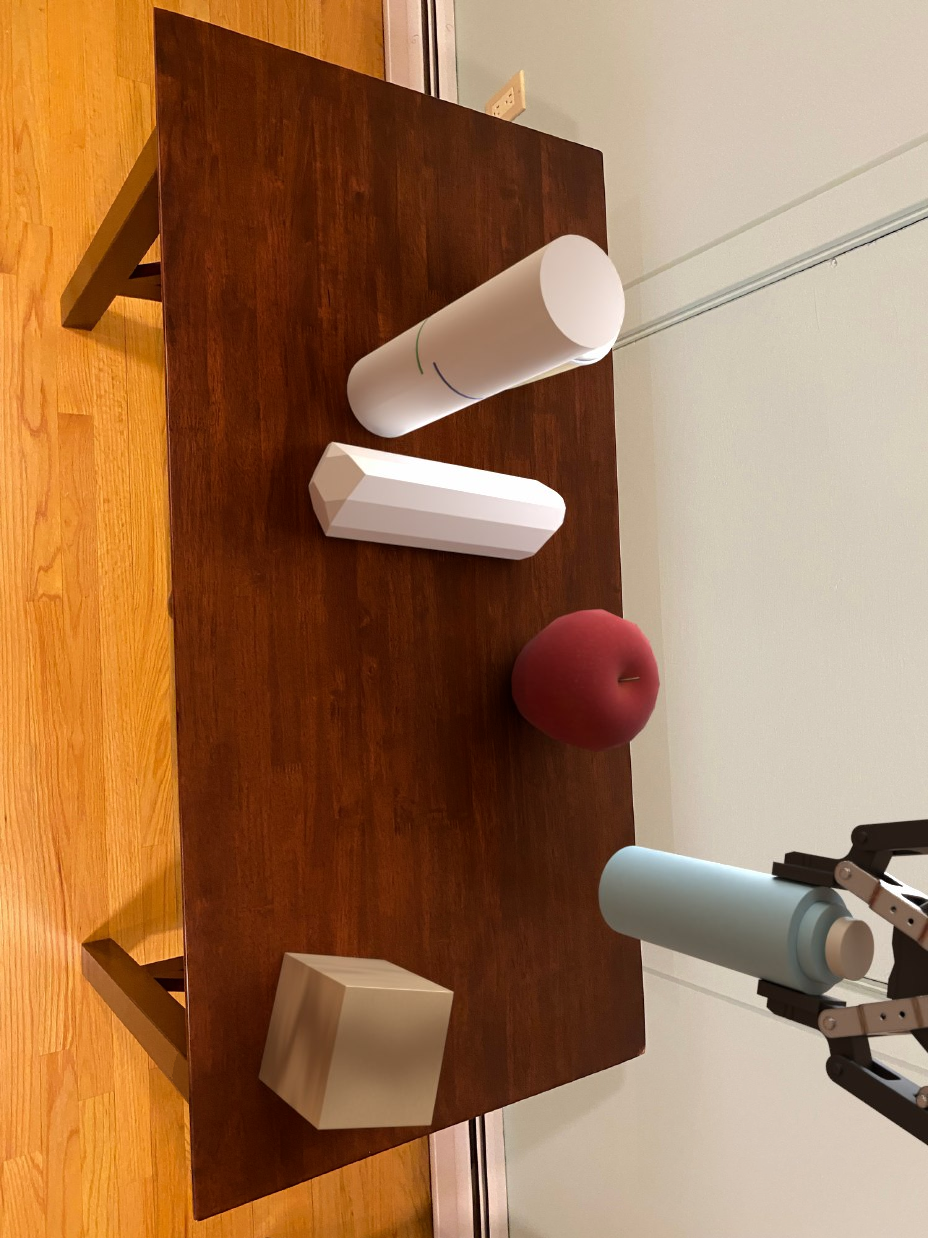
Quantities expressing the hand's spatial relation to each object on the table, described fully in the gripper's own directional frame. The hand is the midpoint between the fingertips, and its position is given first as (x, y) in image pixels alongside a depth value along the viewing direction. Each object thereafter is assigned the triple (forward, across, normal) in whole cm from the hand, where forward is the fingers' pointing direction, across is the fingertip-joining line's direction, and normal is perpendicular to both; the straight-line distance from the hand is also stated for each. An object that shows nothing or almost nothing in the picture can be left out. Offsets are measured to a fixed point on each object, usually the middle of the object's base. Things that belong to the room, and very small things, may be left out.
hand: (775, 928), depth 48 cm
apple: (+37, -15, +11) cm, 41 cm away
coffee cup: (+37, -44, 0) cm, 58 cm away
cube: (+36, +15, -4) cm, 39 cm away
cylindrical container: (+37, -35, -10) cm, 52 cm away
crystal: (+37, -27, -4) cm, 46 cm away
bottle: (+10, 0, 0) cm, 10 cm away
